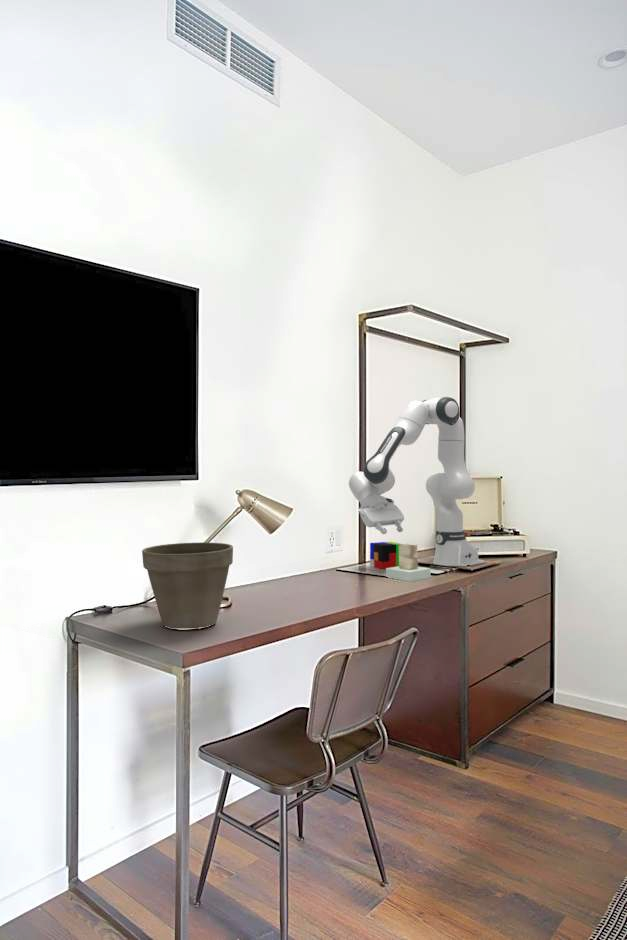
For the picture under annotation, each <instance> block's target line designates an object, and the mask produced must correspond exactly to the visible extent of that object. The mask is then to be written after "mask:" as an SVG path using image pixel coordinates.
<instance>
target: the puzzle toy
mask: <svg viewBox="0 0 627 940" xmlns="http://www.w3.org/2000/svg"><path fill="white" fill-rule="evenodd" d="M402 544H403V543H399V542H396V541H395V542H394V541H379V542H370V544H369V556H370V557H369V564H370V565H369V567H371V568H374V567H375V569H377V568H379V569H378V570H381V569H386V568H391V567H397V566H399V545H402Z"/></svg>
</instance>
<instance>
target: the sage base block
mask: <svg viewBox="0 0 627 940" xmlns="http://www.w3.org/2000/svg"><path fill="white" fill-rule="evenodd" d="M431 572H432V570H431V568H430V567H422V566H418V568H416V569H410V570H408V569H400V568H399V566H397V567H391V568H386V570H385V578H386V577H388V578H387V579H392V578H393V579H392V580H397V579H399V580H398V581H402V582H403V581H404V582H410V581H411V582H416V581H422V580H426V579H431V576H432V575H431ZM411 582H410V583H411Z"/></svg>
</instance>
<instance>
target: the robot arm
mask: <svg viewBox="0 0 627 940" xmlns="http://www.w3.org/2000/svg"><path fill="white" fill-rule="evenodd" d="M460 414H461V413H460V406H459V403H458V402H457V400H456V399H455V398H452V397H450V396H449V397H448V396H444V397H433V398H429V399H424V400H422V401H420V400H417V399H416V400H415V399H414V400H412V401H410V402H408V404H407V405H406V407H405V408H404V409H403V411H402V412H401V414H400V415H399V416H398V419H397V421H396V422H395V424H394V426H393V428H391V430H390V431H389V432H388V434H387V435H386V437H385V438H384V439H383V440H382V443H381V444H380V445H379V447H378V449H377V451H376V452H375V453H374V454H373V455H372V456H371V457H370V458H369V459H368V460H367V461H365V463H364V465H363V470H362V471H359V470H358V471H356V472H354V473H353V474H352V475H351V476H350V477H349V481H348V486H349V489H350V491H351V493H352V494H353V496H354V497H355V499H356V500H357V501H358V502H359V503H360V507H359V508H358V509H357V511H358V513H359V515H360V518H361V520H362V522H363V523H364V525H365V526H366V527H367V528H374V529H376V530H377V531H379V532H380V533H381V535H387V533H388V530H387V529H386V528H385V526H395V527H396V531H397V532H398V533H402V532H403V531H404V528H403V527H402V523H403V521H404V520H405V515H404V513H403V512H402V511H401V509H400V508H399V507H398V506H397V505H396V504H395V501H394V500H393V499H392V498H389V497H385V496H383V494H385V493H387V492H389V491H390V490H391V489H393V487H394V486H395V484H396V480H395V475H394V473H393V472H392V469H391V468H390V462H391V460H392V458H393V456H394V454H395V453H396V451H397V450H398V448H400V446H401V445H403V446H410V445H413V444H414V443H416V442H417V440H418V439H419V437H420V436H421V434H422V432H423V430H424V427H425V426H426V425H437V428H438V439H437V441H438V443H437V459H438V461H439V462H440V464H441V465H442V467H443V470H444V472H439V473H434V474H432V475H430V476H429V477H427V479H426V482H425V490H426V492H427V493H428V494H429V496H430V497H431V499H432V502H433V505H434V509H435V514H436V530H435V540H436V543H435V551H434V556H433V557H434V558H433V562H432V564H434V565H438V566H443V567H444V566H445V567H468V566H467V565H470V566H475V565H479V564H484V562H485V561H484V560H483V559H480V558H479V553H478V549H477V548H476V547H475V546H474V545H473V544H472V543H471V542H469V540H467V537H470V536H471V532H470V531H464V514H463V511H462V510H461V509H460V507H459V506H458V503H457V501H456V500H464V499H468V498H471V496H472V495H473V494H474V493H475V489H476V484H475V481H474V479H473V478H472V477H471V476H470V474H469V472H468V470H467V466H466V461H465V425H464V421H463V419H462V418H461V417H460Z"/></svg>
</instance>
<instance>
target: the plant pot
mask: <svg viewBox="0 0 627 940" xmlns="http://www.w3.org/2000/svg"><path fill="white" fill-rule="evenodd" d="M141 554H142V555H141V556H142V564H143V565H142V566H143V568H144V569H145V570H146V571H147V574H148V575H147V576H148V579H149V582H150V585H151V589H152V593H153V596H154V600H155V603H156V607H157V610H158V615H159V618H160V620H161V621H160V622H161V623H162V626H163V625H164V626H167V627H170V628H199V627H206V626H209V625H212V624H215V625H216V623H217V622H218V618H219V614H220V610H221V605H222V601H223V597H224V593H225V588H226V584H227V579H228V574H229V569H230V566H231V565H232V564H233V562H234V561H233V560H234V546H233V545H231V544H229V543H223V542H179V543H167V544H159V545H154V546H149V547H145V548H143V549H142V550H141ZM164 626H163V627H164Z"/></svg>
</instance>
